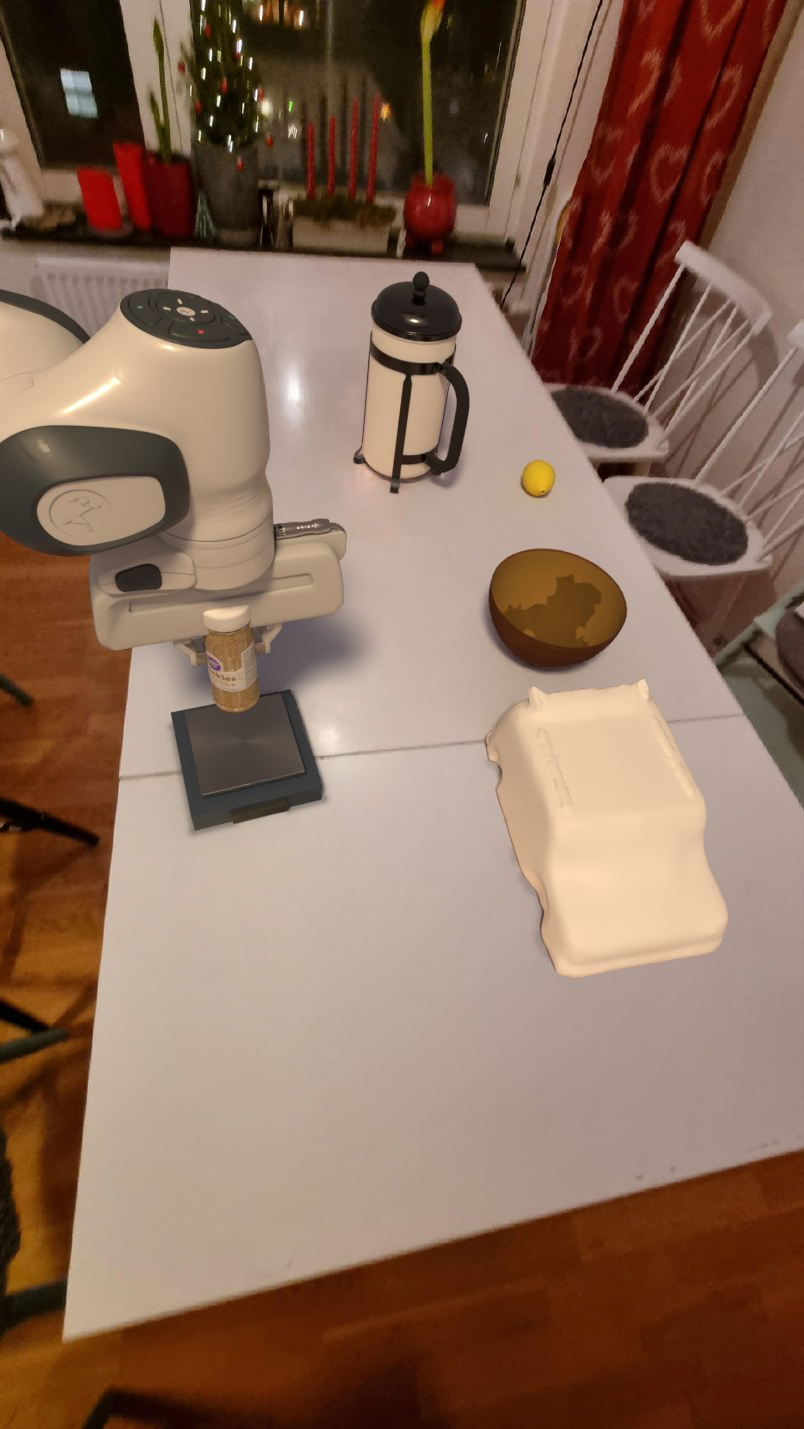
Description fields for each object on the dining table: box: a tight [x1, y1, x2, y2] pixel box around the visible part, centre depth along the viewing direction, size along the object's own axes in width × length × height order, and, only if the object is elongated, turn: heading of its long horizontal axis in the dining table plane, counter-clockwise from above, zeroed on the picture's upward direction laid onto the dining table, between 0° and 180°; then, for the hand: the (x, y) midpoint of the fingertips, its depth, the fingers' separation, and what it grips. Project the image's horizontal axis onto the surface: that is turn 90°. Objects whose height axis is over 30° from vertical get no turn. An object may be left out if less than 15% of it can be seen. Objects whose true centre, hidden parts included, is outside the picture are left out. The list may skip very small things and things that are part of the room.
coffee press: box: [353, 270, 471, 494], centre depth 104 cm, size 17×16×30 cm
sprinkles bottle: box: [202, 605, 261, 713], centre depth 62 cm, size 5×5×14 cm
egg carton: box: [485, 675, 729, 979], centre depth 74 cm, size 19×30×13 cm, turn 12°
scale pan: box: [185, 693, 305, 798], centre depth 77 cm, size 11×11×1 cm
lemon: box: [521, 459, 556, 497], centre depth 115 cm, size 7×5×5 cm
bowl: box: [488, 548, 628, 669], centre depth 92 cm, size 18×18×10 cm
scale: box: [170, 688, 323, 831], centre depth 79 cm, size 14×15×3 cm
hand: (229, 654), depth 63 cm, fingers closed on sprinkles bottle, 4 cm apart
